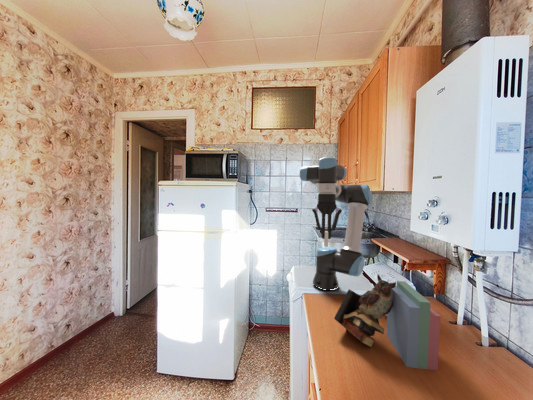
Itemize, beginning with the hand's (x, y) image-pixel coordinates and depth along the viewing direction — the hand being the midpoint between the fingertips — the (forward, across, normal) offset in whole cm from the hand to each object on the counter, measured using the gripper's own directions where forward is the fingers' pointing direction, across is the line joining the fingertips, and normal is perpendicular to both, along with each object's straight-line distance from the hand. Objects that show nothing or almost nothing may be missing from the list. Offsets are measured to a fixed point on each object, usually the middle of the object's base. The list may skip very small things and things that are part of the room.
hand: (325, 245), depth 94 cm
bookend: (+30, +9, -15) cm, 35 cm away
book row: (+32, +27, -17) cm, 46 cm away
